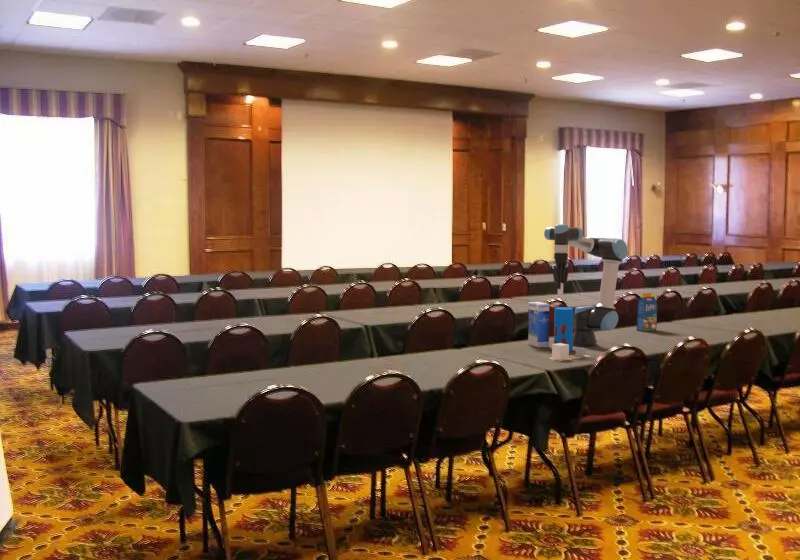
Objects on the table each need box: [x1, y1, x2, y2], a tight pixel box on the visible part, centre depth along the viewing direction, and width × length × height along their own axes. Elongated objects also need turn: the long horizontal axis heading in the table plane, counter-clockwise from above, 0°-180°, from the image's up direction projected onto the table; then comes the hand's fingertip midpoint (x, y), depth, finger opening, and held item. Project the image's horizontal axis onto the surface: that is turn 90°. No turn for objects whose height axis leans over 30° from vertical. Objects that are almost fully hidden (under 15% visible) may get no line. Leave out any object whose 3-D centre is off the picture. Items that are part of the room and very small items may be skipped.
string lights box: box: [527, 301, 550, 349], centre depth 511 cm, size 13×8×26 cm, turn 20°
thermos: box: [553, 306, 575, 352], centre depth 492 cm, size 11×11×25 cm
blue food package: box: [636, 292, 658, 332], centre depth 569 cm, size 6×12×25 cm, turn 120°
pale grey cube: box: [575, 347, 585, 357], centre depth 474 cm, size 3×3×4 cm
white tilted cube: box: [551, 343, 570, 361], centre depth 467 cm, size 6×6×8 cm
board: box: [548, 353, 591, 362], centre depth 471 cm, size 24×9×1 cm, turn 124°
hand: (560, 294), depth 477 cm, fingers closed
